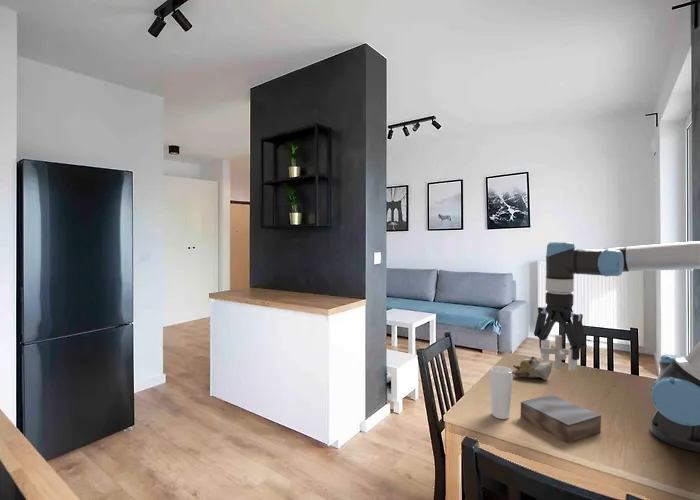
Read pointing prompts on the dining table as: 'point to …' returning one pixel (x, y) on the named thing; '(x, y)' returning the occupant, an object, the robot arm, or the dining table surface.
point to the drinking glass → (501, 391)
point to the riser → (561, 417)
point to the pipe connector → (556, 351)
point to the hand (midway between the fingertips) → (558, 364)
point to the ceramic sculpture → (533, 368)
